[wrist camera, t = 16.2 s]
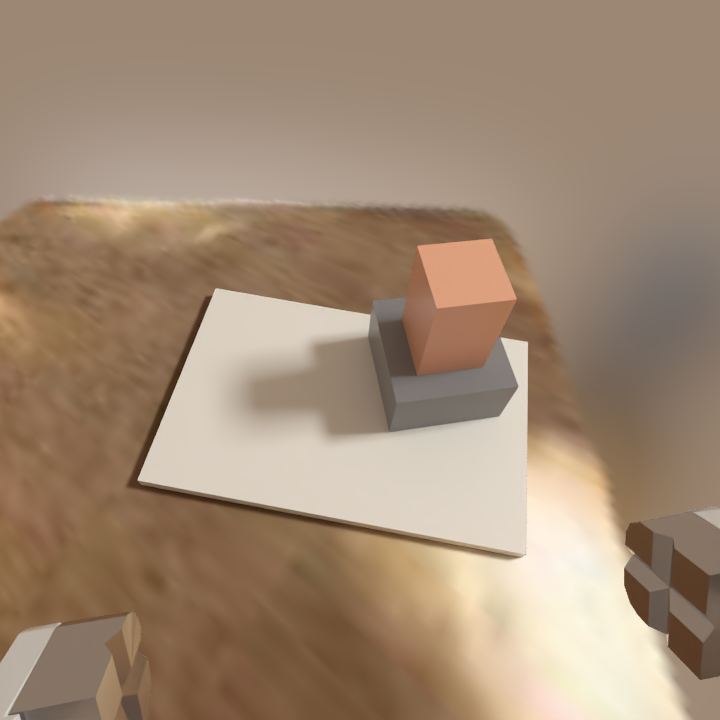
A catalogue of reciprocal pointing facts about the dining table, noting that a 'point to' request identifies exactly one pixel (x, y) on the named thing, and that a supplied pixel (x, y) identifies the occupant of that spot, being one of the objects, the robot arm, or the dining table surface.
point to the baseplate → (333, 432)
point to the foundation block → (432, 378)
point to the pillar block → (456, 305)
